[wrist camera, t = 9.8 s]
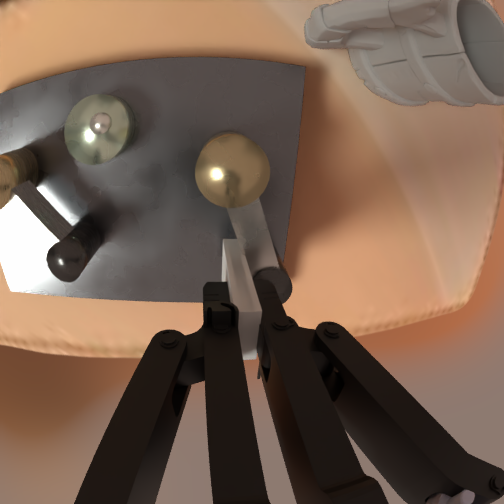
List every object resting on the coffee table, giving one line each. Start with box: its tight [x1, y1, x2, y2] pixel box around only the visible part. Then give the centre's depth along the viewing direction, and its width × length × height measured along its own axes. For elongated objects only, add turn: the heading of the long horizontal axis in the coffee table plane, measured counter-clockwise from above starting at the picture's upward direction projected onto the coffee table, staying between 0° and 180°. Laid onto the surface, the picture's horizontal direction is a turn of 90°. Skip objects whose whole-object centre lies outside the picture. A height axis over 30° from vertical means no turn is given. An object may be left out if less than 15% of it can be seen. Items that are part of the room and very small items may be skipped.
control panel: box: [0, 57, 306, 303], centre depth 15 cm, size 23×16×4 cm
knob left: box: [0, 148, 101, 282], centre depth 13 cm, size 3×10×4 cm, turn 40°
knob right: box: [195, 131, 292, 304], centre depth 15 cm, size 3×10×4 cm, turn 16°
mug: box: [304, 0, 504, 107], centre depth 9 cm, size 8×12×12 cm, turn 94°
